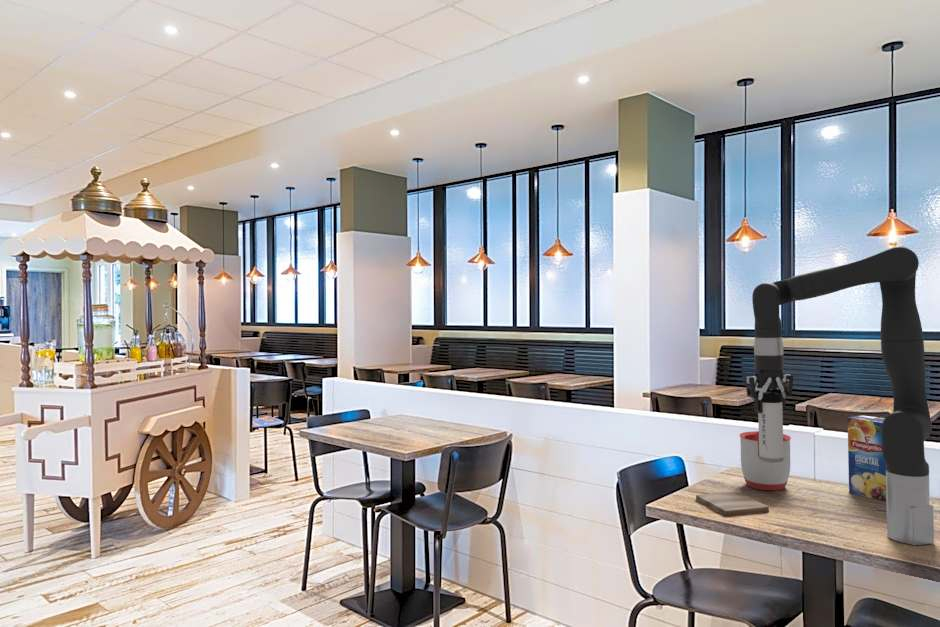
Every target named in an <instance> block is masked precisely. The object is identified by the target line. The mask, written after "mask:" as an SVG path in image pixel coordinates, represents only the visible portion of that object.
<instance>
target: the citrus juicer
mask: <svg viewBox="0 0 940 627" xmlns="http://www.w3.org/2000/svg"><path fill="white" fill-rule="evenodd" d="M739 437H740V440H739V441H740V466H741V472H742V475H743V478H744V481H745V483H746V485H747V486H748V487H751V488H753V489H754V490H764V491H781V490H783V489H785V488H786V486H787V484H788V481H789V477H790V473H791V472H790V471H791V439H792V438H791V436H789V435H787V434H786V433H785V434H784V433H783V456H784V460H783V461H782V462H765V461H762V460H760V459H759V454H760V453H759V430H758V431H755V430H754V431H745V432H741V433H739Z"/></svg>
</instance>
